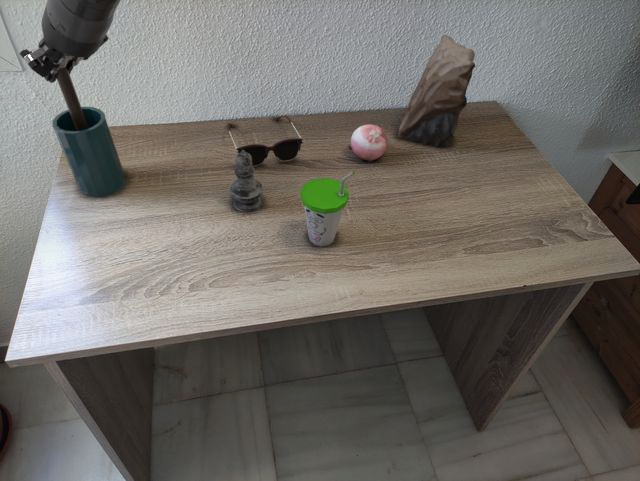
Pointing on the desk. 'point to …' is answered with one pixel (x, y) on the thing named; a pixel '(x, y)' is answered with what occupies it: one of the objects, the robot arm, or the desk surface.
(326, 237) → the cup
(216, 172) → the desk surface
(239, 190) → the chess piece
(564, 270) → the desk surface
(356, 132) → the pink round piece
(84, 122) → the brush
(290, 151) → the sunglasses
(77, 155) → the pencil holder
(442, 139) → the brown rock
